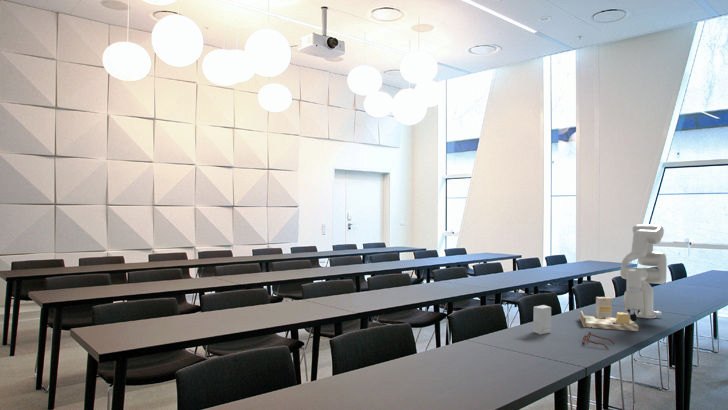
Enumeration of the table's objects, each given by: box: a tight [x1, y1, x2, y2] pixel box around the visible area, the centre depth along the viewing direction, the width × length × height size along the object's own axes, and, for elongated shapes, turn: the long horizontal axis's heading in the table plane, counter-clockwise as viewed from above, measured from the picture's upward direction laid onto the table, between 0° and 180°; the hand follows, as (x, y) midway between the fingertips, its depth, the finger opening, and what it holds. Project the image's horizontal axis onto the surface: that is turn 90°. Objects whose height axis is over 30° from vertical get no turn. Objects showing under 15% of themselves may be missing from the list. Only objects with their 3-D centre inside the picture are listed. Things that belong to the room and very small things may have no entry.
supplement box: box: [595, 296, 613, 318], centre depth 312 cm, size 8×5×13 cm, turn 84°
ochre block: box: [615, 311, 630, 323], centre depth 291 cm, size 6×6×5 cm
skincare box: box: [532, 304, 552, 335], centre depth 275 cm, size 8×6×15 cm
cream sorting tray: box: [579, 310, 640, 332], centre depth 293 cm, size 29×20×6 cm
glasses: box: [581, 331, 616, 350], centre depth 253 cm, size 13×13×5 cm
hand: (633, 320), depth 289 cm, fingers closed
